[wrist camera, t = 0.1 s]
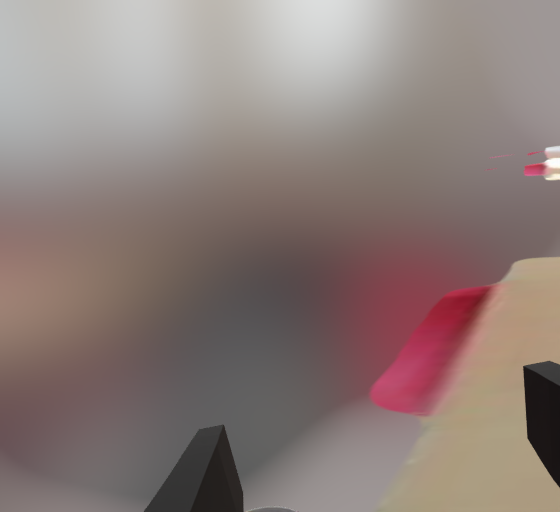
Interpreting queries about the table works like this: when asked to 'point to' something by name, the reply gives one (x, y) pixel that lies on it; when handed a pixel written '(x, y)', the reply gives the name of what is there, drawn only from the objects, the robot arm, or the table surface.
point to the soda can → (272, 509)
